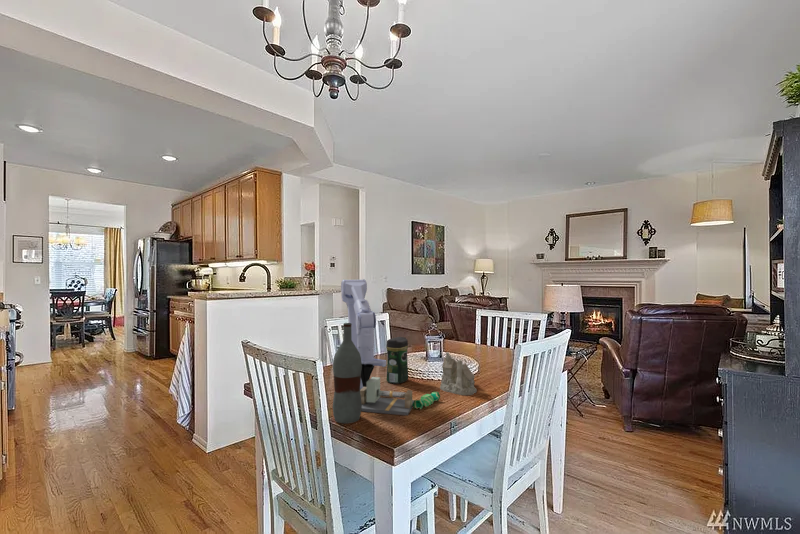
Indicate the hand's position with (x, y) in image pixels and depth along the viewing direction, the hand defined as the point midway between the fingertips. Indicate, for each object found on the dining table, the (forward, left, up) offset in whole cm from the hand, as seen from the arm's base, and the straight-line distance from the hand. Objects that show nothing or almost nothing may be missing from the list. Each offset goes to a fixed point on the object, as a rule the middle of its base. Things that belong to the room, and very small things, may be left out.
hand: (365, 385), depth 132 cm
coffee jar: (+3, +31, -7) cm, 32 cm away
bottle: (-2, -13, -7) cm, 15 cm away
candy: (+21, +6, -7) cm, 23 cm away
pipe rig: (+7, 0, -7) cm, 10 cm away
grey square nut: (+3, 0, -4) cm, 5 cm away
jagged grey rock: (+30, +28, -7) cm, 42 cm away
